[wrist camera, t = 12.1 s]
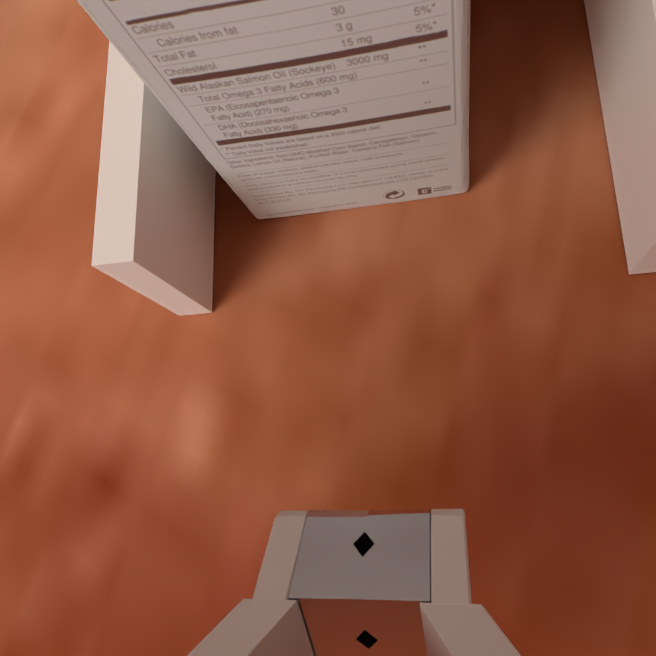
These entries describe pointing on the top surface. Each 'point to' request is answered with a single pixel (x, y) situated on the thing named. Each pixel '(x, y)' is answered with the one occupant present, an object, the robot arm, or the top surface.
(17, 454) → the top surface
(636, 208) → the frame
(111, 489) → the top surface
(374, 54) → the supplement box
